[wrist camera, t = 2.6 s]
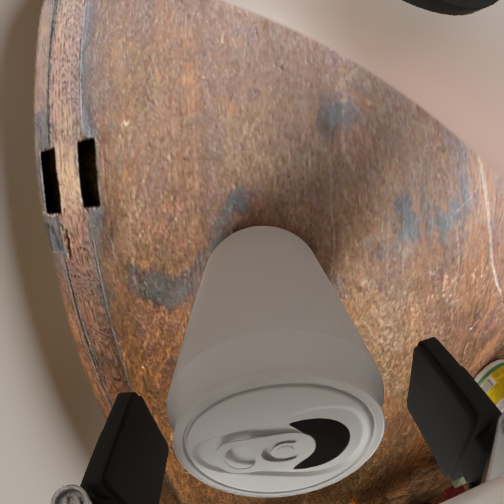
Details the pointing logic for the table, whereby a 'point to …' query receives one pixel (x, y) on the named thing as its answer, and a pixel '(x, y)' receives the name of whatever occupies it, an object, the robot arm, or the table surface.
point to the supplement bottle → (493, 382)
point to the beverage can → (272, 374)
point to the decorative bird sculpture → (448, 493)
